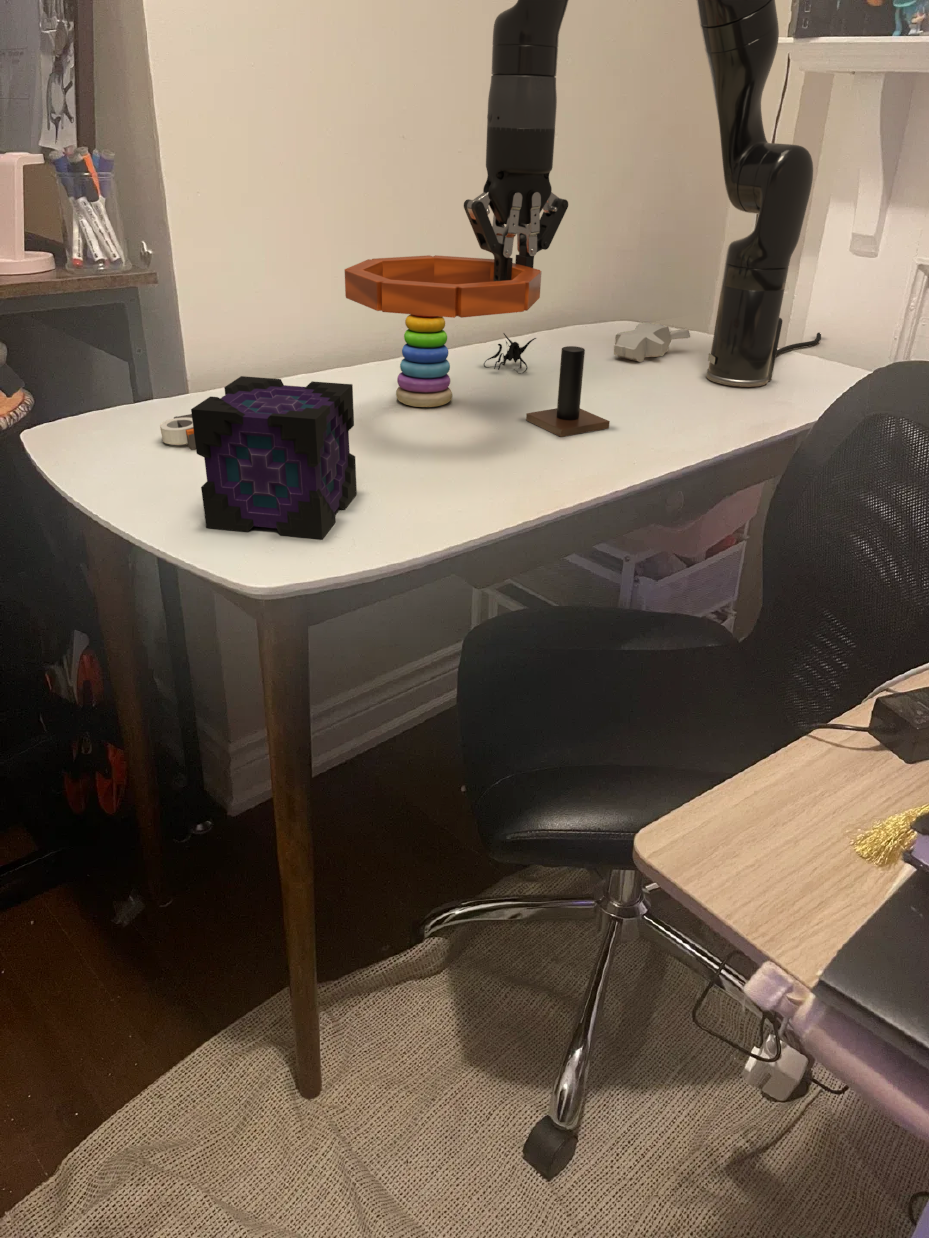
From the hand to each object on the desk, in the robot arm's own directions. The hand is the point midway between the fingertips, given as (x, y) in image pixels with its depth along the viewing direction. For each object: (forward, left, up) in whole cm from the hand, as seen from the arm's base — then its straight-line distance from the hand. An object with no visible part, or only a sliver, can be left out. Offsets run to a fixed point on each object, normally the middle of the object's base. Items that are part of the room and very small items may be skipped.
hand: (512, 288), depth 108 cm
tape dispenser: (+32, -16, -18) cm, 40 cm away
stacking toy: (+2, -18, -18) cm, 26 cm away
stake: (-10, 0, -18) cm, 21 cm away
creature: (-19, -28, -18) cm, 38 cm away
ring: (+9, 0, 0) cm, 10 cm away
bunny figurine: (-46, -25, -18) cm, 55 cm away
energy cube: (+34, +10, -18) cm, 40 cm away
